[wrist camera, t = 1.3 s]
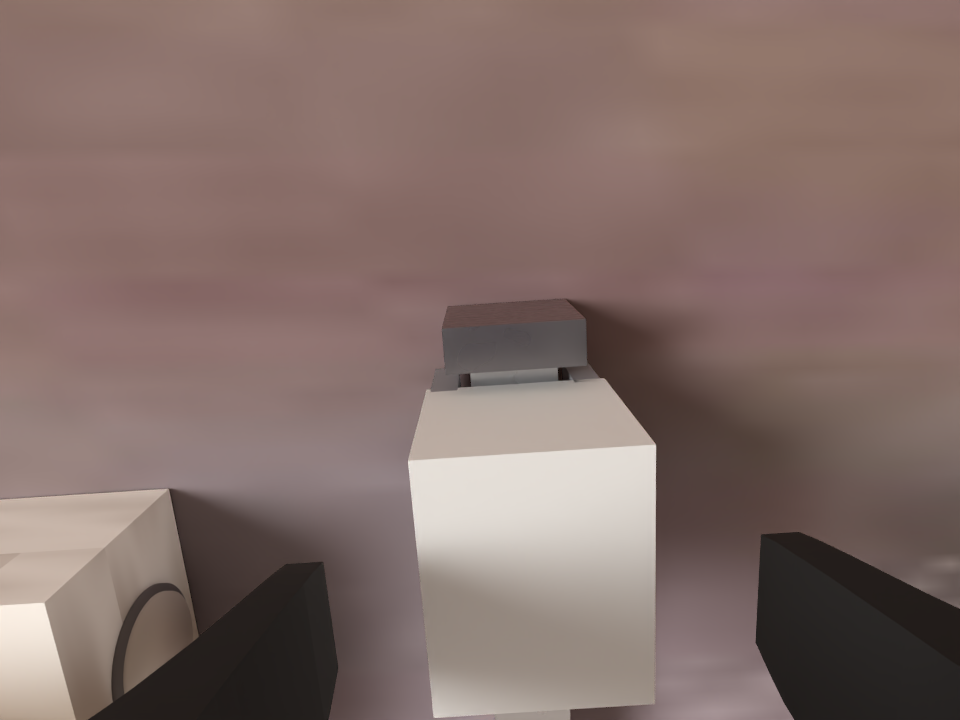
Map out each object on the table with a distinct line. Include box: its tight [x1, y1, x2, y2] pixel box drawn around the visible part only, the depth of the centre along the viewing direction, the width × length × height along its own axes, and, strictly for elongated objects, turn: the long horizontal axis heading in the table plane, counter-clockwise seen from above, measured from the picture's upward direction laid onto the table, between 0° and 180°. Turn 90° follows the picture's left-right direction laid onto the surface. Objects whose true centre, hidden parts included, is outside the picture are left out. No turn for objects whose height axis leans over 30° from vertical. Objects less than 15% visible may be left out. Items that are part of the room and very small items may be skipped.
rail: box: [442, 299, 587, 720], centre depth 16 cm, size 16×3×3 cm, turn 4°
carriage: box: [408, 362, 656, 718], centre depth 13 cm, size 5×4×6 cm
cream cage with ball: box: [0, 489, 199, 720], centre depth 15 cm, size 7×7×5 cm
